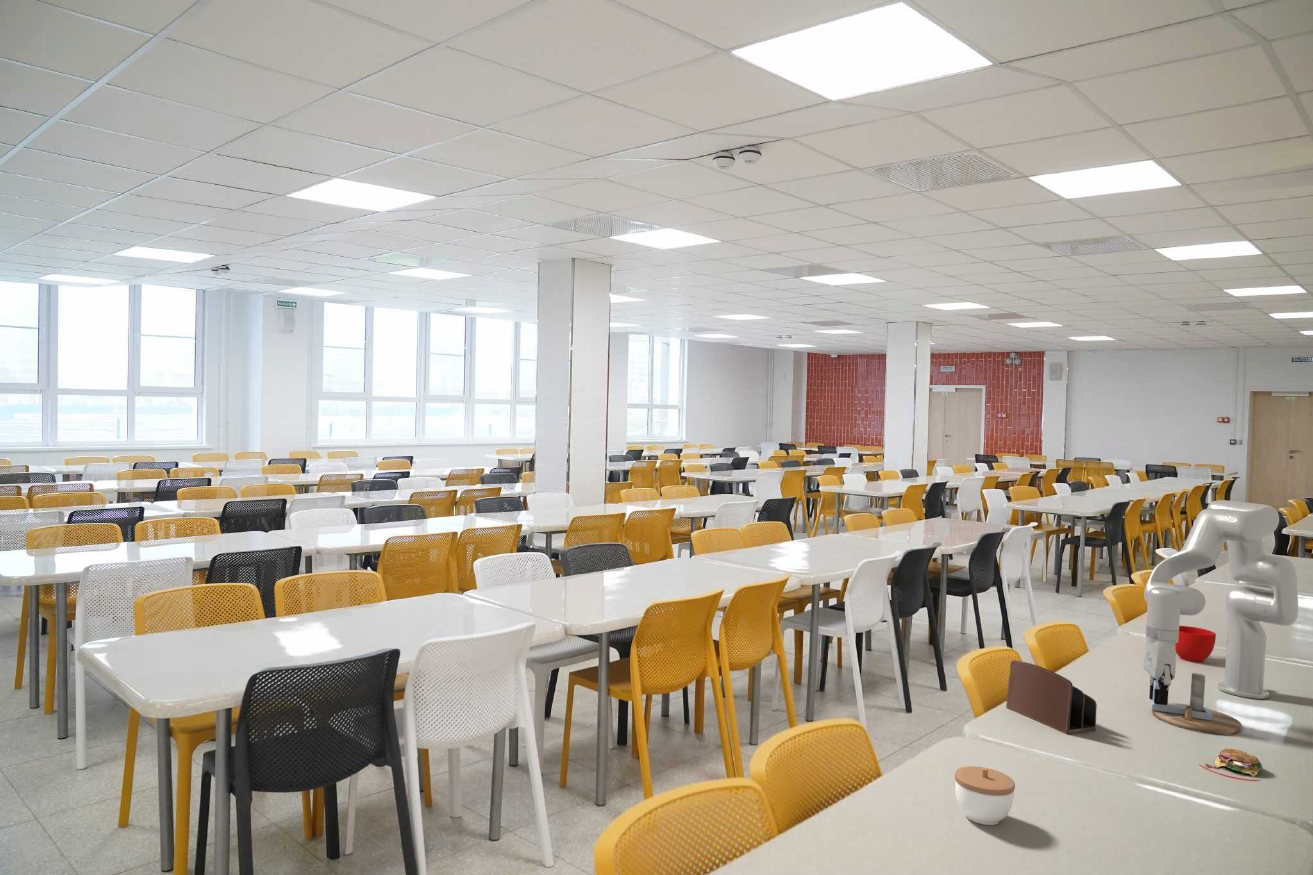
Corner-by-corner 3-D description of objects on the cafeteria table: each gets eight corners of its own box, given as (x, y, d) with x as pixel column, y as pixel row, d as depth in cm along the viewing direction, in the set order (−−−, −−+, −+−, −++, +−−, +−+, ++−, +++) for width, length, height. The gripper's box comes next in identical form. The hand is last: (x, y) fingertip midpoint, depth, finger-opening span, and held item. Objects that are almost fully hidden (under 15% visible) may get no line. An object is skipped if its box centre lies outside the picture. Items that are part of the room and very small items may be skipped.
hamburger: (1203, 752, 202) (1204, 727, 202) (1274, 772, 192) (1276, 746, 192) (1187, 767, 192) (1189, 741, 192) (1262, 788, 182) (1264, 761, 182)
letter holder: (1067, 735, 208) (1070, 678, 208) (1005, 708, 226) (1008, 656, 226) (1096, 731, 212) (1099, 675, 211) (1033, 705, 230) (1036, 653, 230)
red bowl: (1213, 656, 291) (1215, 628, 291) (1214, 667, 277) (1216, 637, 277) (1169, 649, 298) (1171, 621, 298) (1168, 660, 284) (1170, 630, 284)
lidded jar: (943, 804, 166) (945, 757, 166) (995, 804, 167) (998, 757, 166) (968, 831, 155) (970, 780, 155) (1023, 831, 156) (1026, 781, 156)
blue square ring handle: (1205, 713, 225) (1207, 685, 225) (1212, 720, 219) (1214, 691, 219) (1148, 705, 229) (1150, 677, 229) (1153, 711, 224) (1155, 684, 224)
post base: (1169, 702, 237) (1172, 659, 237) (1253, 725, 222) (1256, 679, 221) (1139, 715, 225) (1142, 670, 225) (1225, 740, 209) (1228, 691, 209)
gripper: (1136, 625, 234) (1133, 691, 235) (1157, 640, 218) (1153, 710, 219) (1166, 628, 233) (1163, 694, 233) (1189, 643, 217) (1185, 714, 217)
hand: (1158, 701), depth 226 cm, fingers closed on blue square ring handle, 2 cm apart
